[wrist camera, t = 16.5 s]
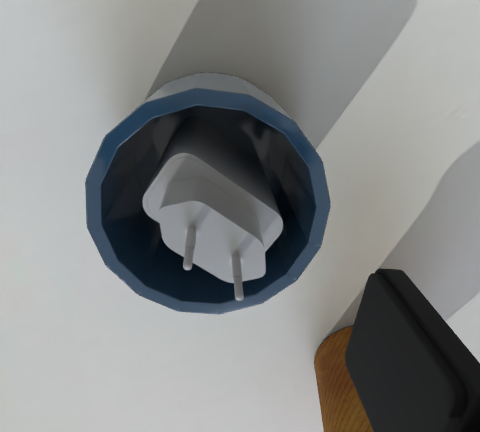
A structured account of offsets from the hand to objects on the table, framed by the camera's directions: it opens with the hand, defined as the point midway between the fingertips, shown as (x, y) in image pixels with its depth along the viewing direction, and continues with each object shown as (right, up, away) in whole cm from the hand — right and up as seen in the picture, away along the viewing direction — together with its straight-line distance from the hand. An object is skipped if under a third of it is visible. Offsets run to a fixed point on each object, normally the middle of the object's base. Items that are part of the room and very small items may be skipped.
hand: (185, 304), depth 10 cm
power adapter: (0, +5, +13) cm, 14 cm away
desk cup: (0, +5, +13) cm, 14 cm away
